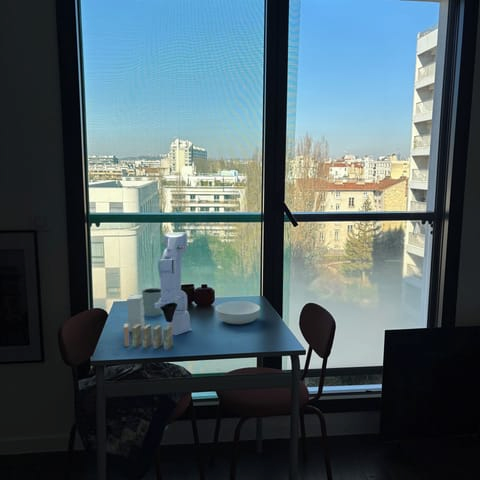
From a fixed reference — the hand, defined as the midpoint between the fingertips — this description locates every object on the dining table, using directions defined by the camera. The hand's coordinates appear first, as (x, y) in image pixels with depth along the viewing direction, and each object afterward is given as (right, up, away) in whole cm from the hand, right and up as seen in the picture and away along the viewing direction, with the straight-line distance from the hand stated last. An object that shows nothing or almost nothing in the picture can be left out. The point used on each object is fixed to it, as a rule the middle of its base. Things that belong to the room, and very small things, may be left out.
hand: (169, 321), depth 185 cm
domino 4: (0, -10, 0) cm, 10 cm away
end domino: (-18, -10, +4) cm, 21 cm away
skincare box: (-18, -8, +23) cm, 30 cm away
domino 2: (-9, -10, +2) cm, 14 cm away
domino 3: (-5, -10, +1) cm, 11 cm away
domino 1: (-13, -10, +3) cm, 17 cm away
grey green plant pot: (-15, -4, +46) cm, 48 cm away
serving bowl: (+27, -6, +31) cm, 42 cm away
